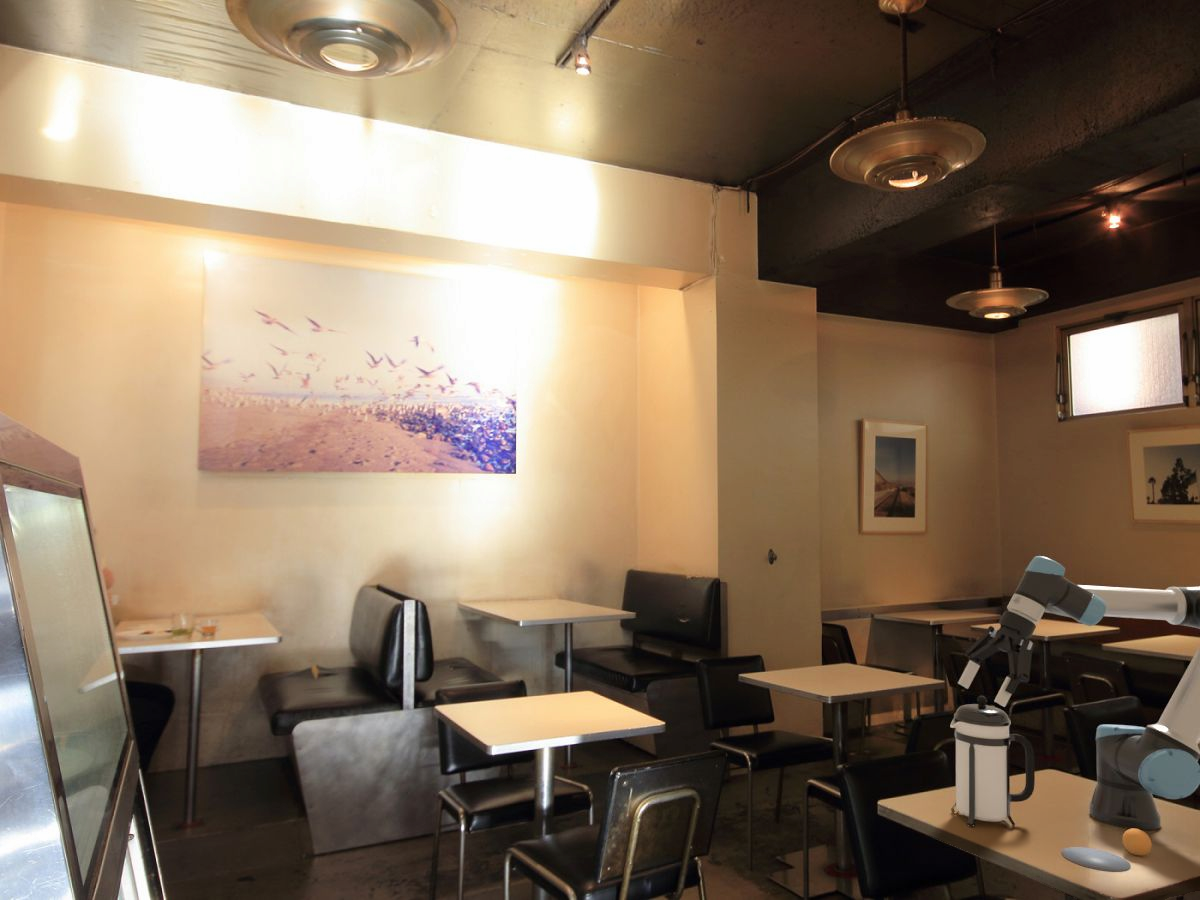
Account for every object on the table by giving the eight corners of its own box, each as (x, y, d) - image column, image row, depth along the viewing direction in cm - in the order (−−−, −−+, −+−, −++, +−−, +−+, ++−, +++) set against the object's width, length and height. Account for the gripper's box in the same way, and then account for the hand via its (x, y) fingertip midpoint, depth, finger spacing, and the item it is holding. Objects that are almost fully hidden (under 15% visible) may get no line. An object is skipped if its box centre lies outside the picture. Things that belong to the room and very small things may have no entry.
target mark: (1093, 845, 192) (1093, 844, 192) (1145, 868, 180) (1145, 867, 180) (1047, 850, 188) (1047, 849, 188) (1098, 873, 176) (1098, 872, 176)
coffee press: (1003, 837, 195) (1002, 705, 198) (938, 817, 208) (938, 693, 210) (1036, 822, 206) (1035, 698, 209) (972, 804, 219) (972, 687, 221)
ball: (1135, 849, 191) (1134, 824, 191) (1158, 858, 186) (1157, 832, 186) (1116, 851, 189) (1116, 825, 190) (1139, 860, 184) (1138, 834, 185)
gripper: (976, 598, 214) (937, 672, 213) (1046, 621, 190) (1003, 705, 188) (998, 612, 216) (960, 685, 214) (1071, 637, 191) (1028, 719, 190)
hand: (980, 695), depth 201 cm, fingers open, 13 cm apart
